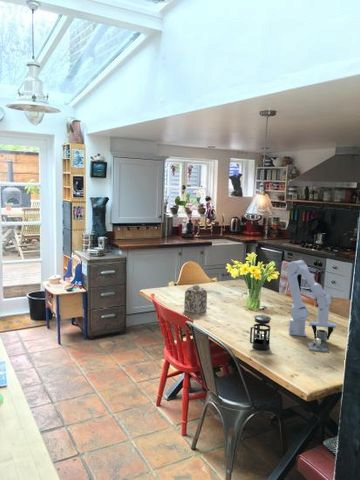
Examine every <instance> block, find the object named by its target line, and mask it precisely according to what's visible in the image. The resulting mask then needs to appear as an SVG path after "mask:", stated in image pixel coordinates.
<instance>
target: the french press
mask: <svg viewBox="0 0 360 480" xmlns="http://www.w3.org/2000/svg"><path fill="white" fill-rule="evenodd" d="M258 307H259V308H260V309H261V311H262V314H257V315H254V317H253V318H254V322H255V323H254V324H253V326H250V331H249V343H250V344H252V345H251V347H252V348H253V350H256V351H260V352H262V351H263V352H266V351H269V350H270V349H271V346H270V340H271V339H270V335H271V326H270V325H269V324H270V323H271V319H272V317H270V316H268V315H265V314H264V310H265V309H267V308H268V307H267V306H265V305H260V306H258ZM261 327H265V328H261Z"/></svg>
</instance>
